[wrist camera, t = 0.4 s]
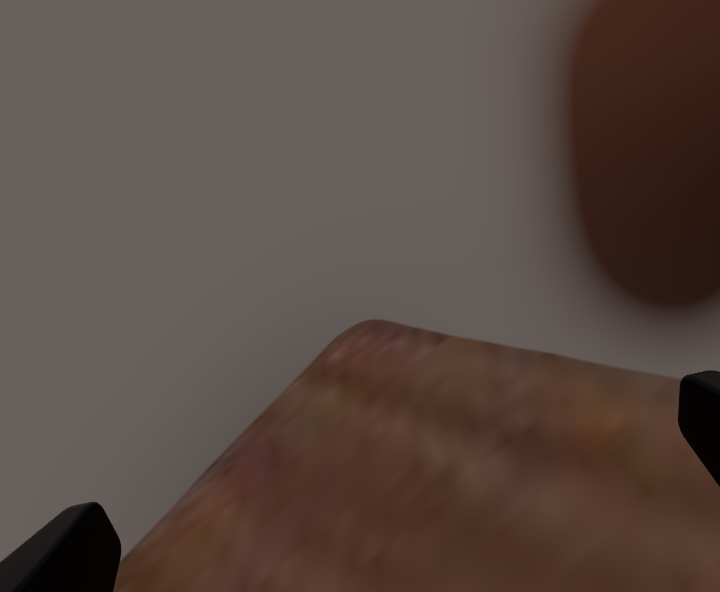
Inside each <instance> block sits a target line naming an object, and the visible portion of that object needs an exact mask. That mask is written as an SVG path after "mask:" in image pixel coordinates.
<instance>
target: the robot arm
mask: <svg viewBox="0 0 720 592" xmlns="http://www.w3.org/2000/svg"><path fill="white" fill-rule="evenodd" d="M678 423H679V427H680V430H681V432H682V434H683V436H684V438H685V439H686V441H687V442H688V443H689V445H690V446H691V448H692V449H693V450H694V452H695V453H696V455H697V456H698V457H699V459H700V460H701V462H702V463H703V464H704V466H705V467H706V469H707V470H708V471H709V473H710V474H711V475H712V477H713V478H714V480H715V481H716V482H717V484H718V485H719V487H720V372H718V371H710V370H709V371H704V372H699V373H694V374H689V375H686V376H685V377H683V378H682V380H681V382H680V392H679V410H678ZM120 557H121V543H120V539H119V537H118V535H117V534H116V531H115V530H114V528H113V526H112V524H111V522H110V520H109V518H108V517H107V515H106V513H105V511H104V509H103V507H101V505H100V504H98V503H97V502H89V503H84V504H79V505H75V506H71V507H68V508H67V509H65V510H64V511H62V512H61V513H60V514H59V515H58V516H56V517H55V518H54V519H53V520H51V521H50V522H49V523H48V524H47V525H45V526H44V527H43V528H42V529H40V530H39V531H38V532H37V533H36V534H34V535H33V536H32V537H31V538H29V539H28V540H27V541H26V542H24V544H22V545H21V546H20V547H19V548H17V549H16V550H15V551H13V552H12V553H11V554H10V555H9V556H7V557H6V558H5V559H4V560H3V561H1V562H0V592H113V589H114V585H115V580H116V576H117V571H118V567H119V562H120Z"/></svg>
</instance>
